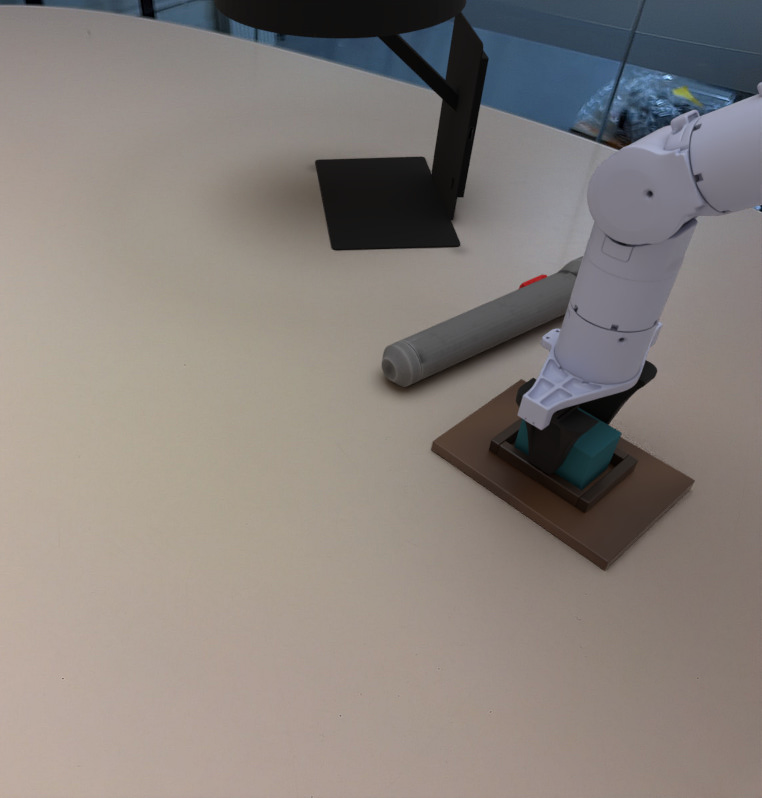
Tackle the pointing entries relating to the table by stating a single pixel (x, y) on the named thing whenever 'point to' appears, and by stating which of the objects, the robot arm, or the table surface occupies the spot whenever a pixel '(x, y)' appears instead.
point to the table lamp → (392, 176)
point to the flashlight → (480, 327)
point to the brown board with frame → (564, 483)
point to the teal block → (582, 453)
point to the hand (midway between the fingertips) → (564, 448)
